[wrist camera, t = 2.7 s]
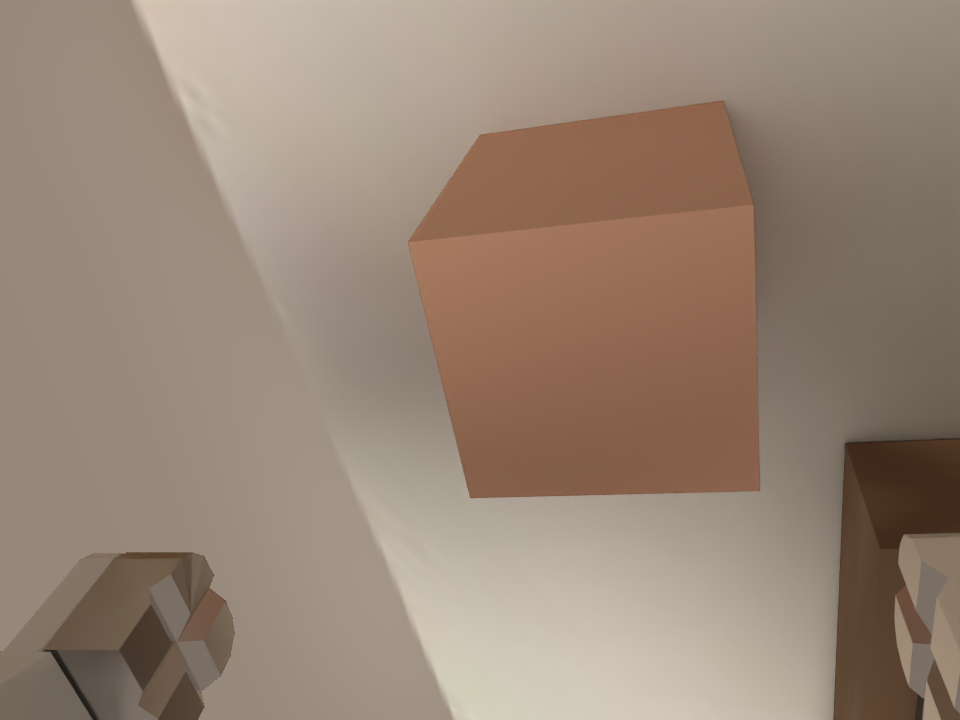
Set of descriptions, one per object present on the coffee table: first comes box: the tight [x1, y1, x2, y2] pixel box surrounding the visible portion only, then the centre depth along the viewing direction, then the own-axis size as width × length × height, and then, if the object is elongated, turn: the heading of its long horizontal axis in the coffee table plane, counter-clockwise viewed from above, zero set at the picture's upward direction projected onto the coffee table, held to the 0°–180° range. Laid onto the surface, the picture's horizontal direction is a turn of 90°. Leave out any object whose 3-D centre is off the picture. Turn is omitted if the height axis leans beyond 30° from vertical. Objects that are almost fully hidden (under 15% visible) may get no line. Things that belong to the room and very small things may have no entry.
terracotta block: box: [408, 101, 760, 498], centre depth 15 cm, size 5×5×6 cm
